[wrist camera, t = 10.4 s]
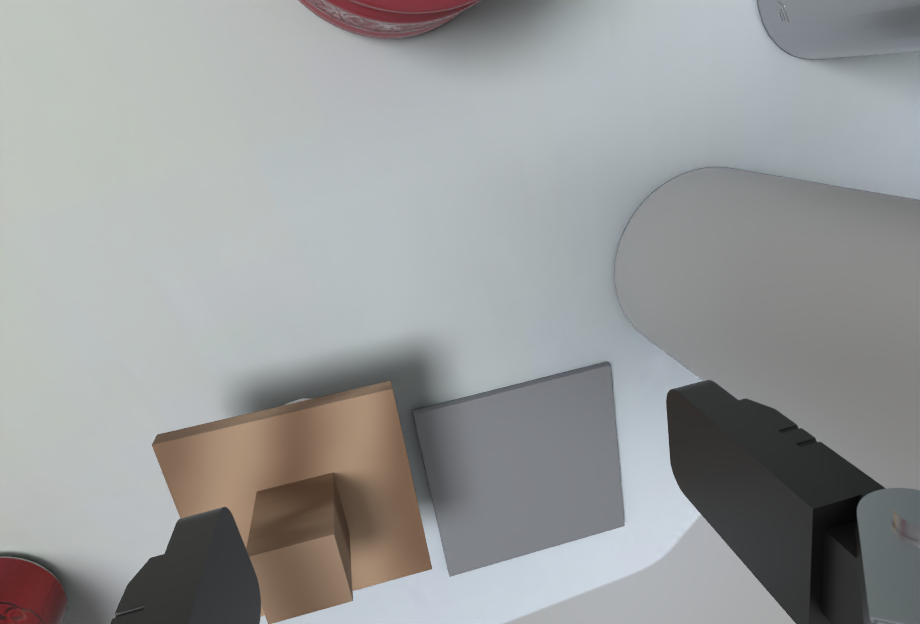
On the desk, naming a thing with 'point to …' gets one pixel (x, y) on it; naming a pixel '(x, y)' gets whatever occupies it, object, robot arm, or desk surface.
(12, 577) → the soda can
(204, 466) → the lid
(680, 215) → the cylinder vase
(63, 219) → the desk surface
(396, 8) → the canister
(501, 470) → the mat
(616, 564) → the desk surface
